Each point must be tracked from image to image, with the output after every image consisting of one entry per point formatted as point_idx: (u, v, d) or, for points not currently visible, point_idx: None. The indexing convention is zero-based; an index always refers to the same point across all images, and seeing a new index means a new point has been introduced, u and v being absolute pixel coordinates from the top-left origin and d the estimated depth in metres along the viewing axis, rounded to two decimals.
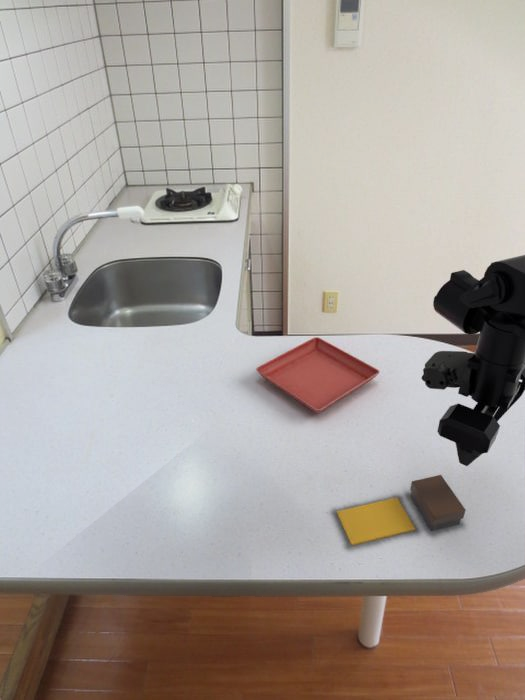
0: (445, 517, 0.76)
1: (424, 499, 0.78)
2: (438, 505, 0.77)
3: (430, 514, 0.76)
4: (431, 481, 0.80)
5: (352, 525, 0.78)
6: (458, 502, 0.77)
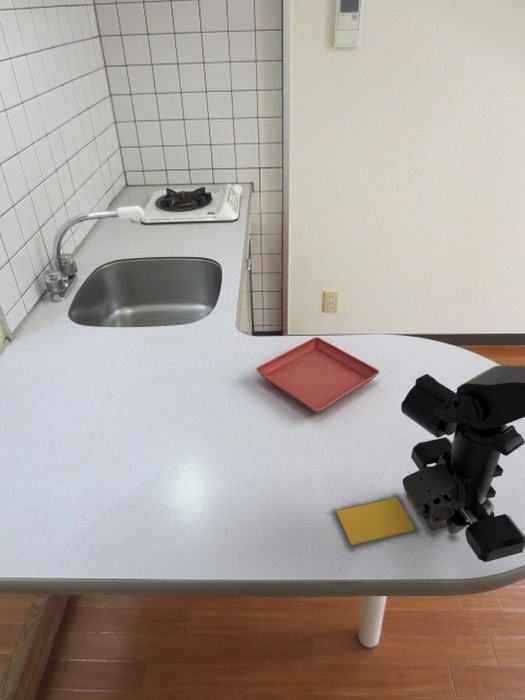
0: None
1: None
2: None
3: None
4: None
5: (352, 525, 0.78)
6: None
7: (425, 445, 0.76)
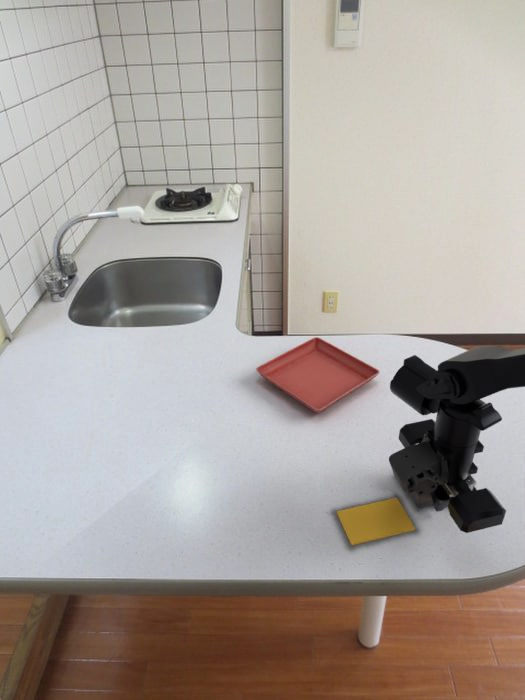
0: (431, 495, 0.79)
1: None
2: None
3: None
4: None
5: (352, 525, 0.78)
6: None
7: (411, 426, 0.80)
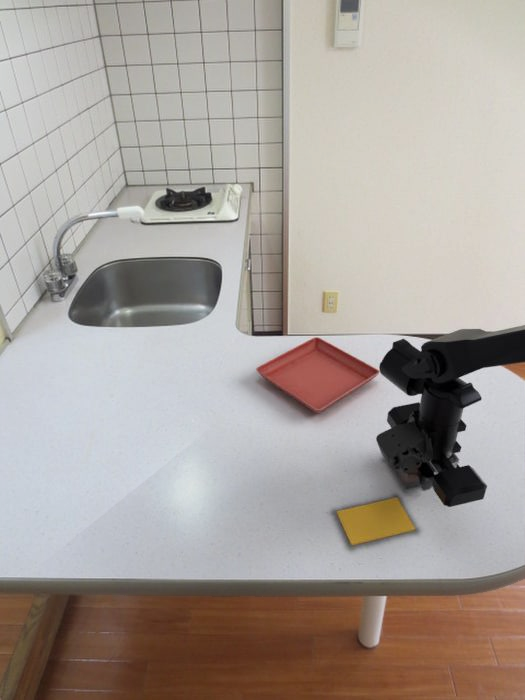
0: None
1: None
2: None
3: None
4: None
5: (352, 525, 0.78)
6: None
7: (399, 409, 0.83)
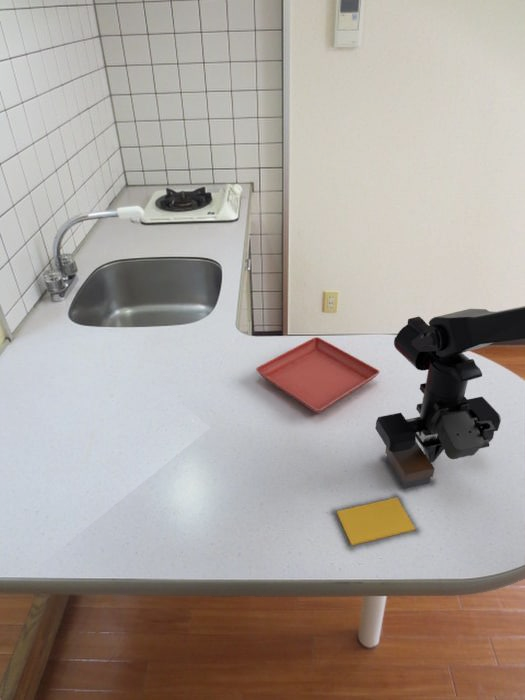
0: (416, 474, 0.82)
1: (397, 459, 0.84)
2: (409, 465, 0.83)
3: (402, 472, 0.83)
4: None
5: (352, 525, 0.78)
6: (428, 462, 0.84)
7: (395, 431, 0.79)
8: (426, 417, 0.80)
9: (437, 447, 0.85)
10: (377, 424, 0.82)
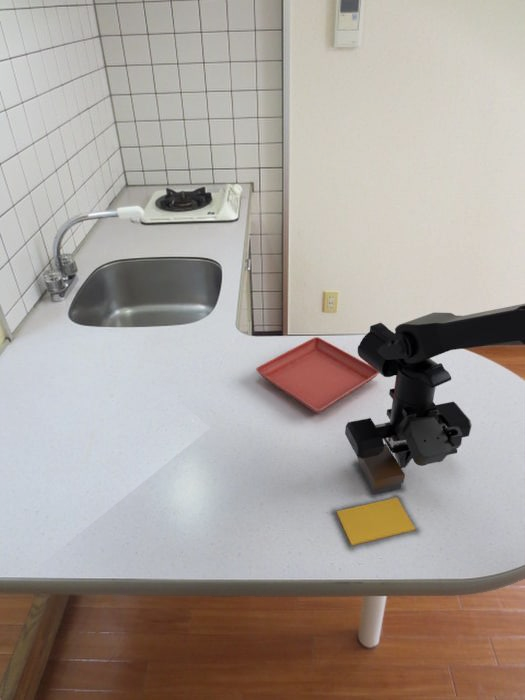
0: (386, 481, 0.82)
1: (368, 465, 0.84)
2: (379, 470, 0.83)
3: (371, 478, 0.82)
4: None
5: (352, 525, 0.78)
6: (399, 468, 0.83)
7: (363, 437, 0.78)
8: (395, 422, 0.79)
9: (408, 453, 0.84)
10: (346, 429, 0.81)
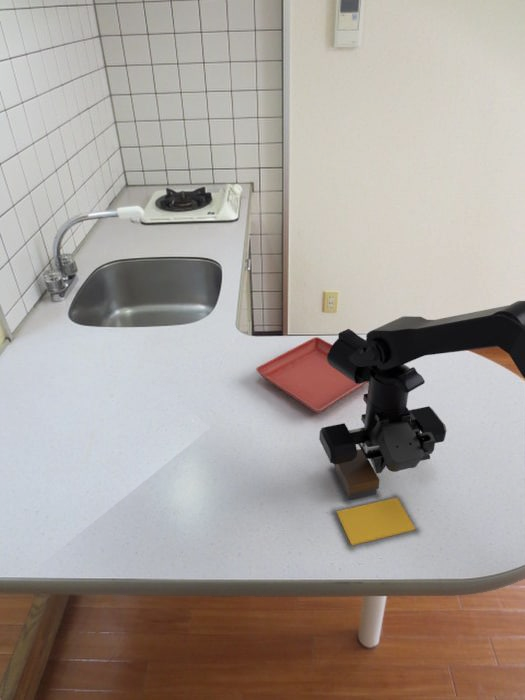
0: (360, 486, 0.81)
1: (343, 470, 0.83)
2: (354, 476, 0.82)
3: (346, 484, 0.81)
4: None
5: (352, 525, 0.78)
6: (374, 473, 0.82)
7: (336, 443, 0.77)
8: (368, 428, 0.78)
9: (383, 458, 0.83)
10: (320, 435, 0.81)
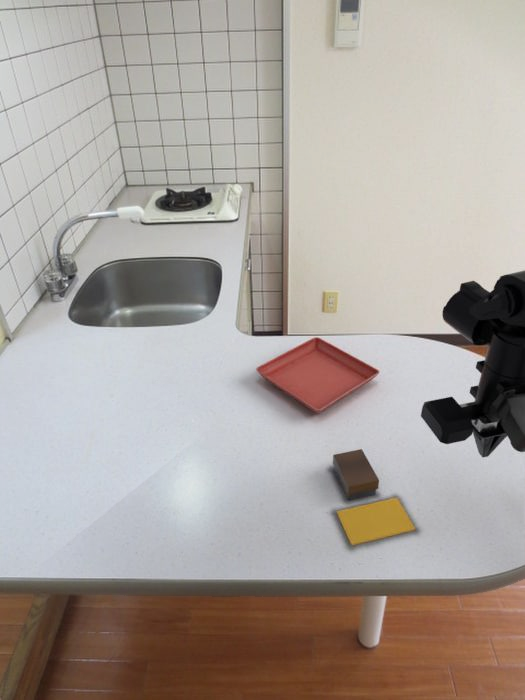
0: (360, 487, 0.81)
1: (342, 471, 0.83)
2: (354, 476, 0.82)
3: (346, 484, 0.81)
4: (351, 455, 0.86)
5: (352, 525, 0.78)
6: (373, 473, 0.82)
7: (448, 418, 0.65)
8: (484, 401, 0.66)
9: (494, 438, 0.71)
10: (424, 410, 0.68)
